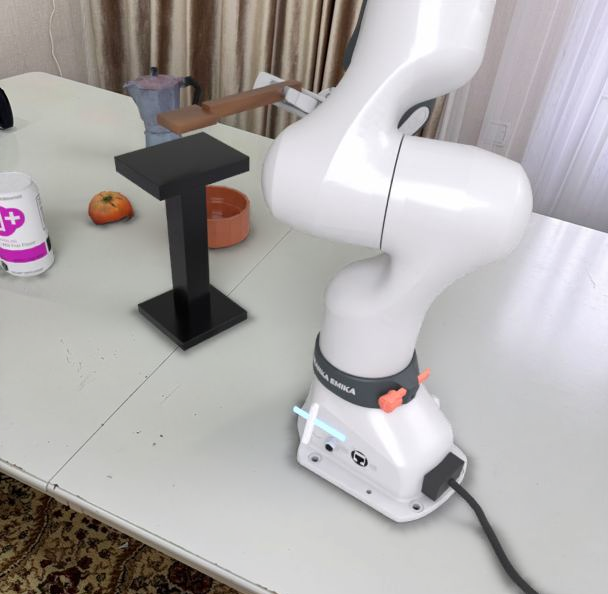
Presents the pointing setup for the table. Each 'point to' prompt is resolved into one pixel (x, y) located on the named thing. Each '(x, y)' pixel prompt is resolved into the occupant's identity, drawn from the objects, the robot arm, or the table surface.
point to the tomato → (109, 207)
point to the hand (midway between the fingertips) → (277, 89)
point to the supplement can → (23, 227)
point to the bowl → (226, 216)
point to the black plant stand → (186, 232)
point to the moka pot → (159, 101)
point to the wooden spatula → (222, 107)
